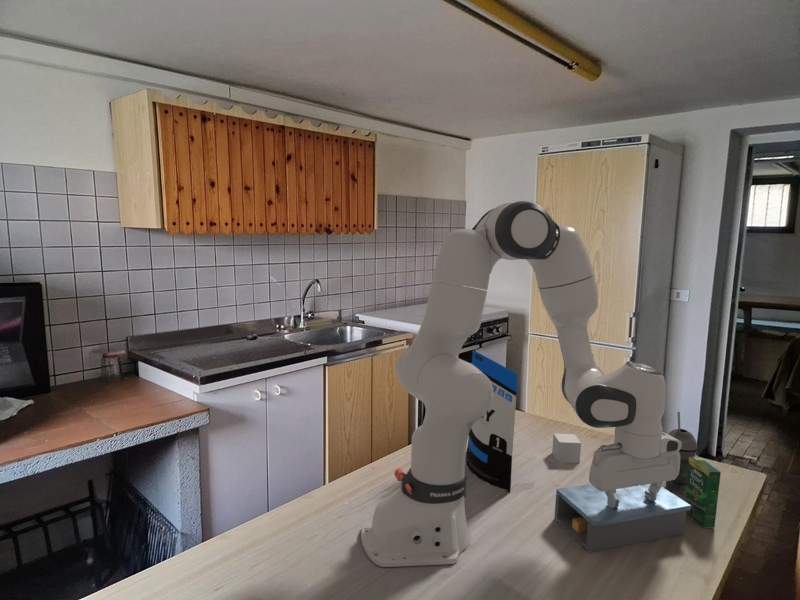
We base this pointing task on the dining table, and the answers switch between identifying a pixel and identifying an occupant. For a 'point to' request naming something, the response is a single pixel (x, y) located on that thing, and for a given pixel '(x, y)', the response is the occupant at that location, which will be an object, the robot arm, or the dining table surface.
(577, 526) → the amber wooden bar
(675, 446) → the robot arm
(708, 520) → the coffee box
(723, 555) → the dining table surface
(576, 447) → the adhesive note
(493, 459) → the protein powder
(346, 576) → the dining table surface
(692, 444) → the beverage cup
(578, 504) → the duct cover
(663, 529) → the duct trough
